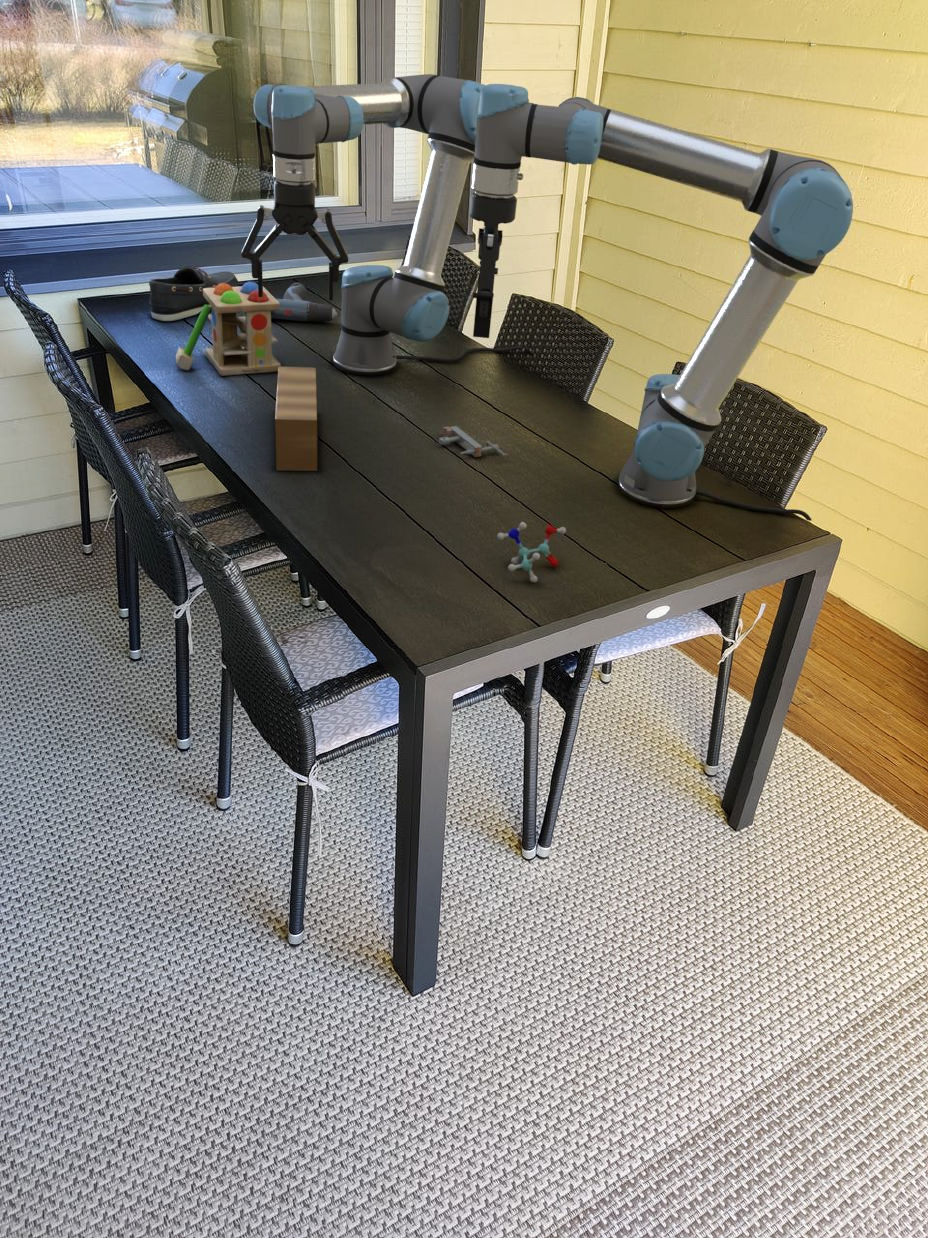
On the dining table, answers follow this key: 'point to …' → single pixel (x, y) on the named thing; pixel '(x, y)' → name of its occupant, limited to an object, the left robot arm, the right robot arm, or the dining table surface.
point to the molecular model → (525, 552)
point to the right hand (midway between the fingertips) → (482, 324)
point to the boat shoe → (184, 292)
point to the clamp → (466, 442)
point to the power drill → (301, 307)
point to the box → (296, 419)
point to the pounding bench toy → (229, 347)
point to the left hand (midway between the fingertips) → (295, 296)
